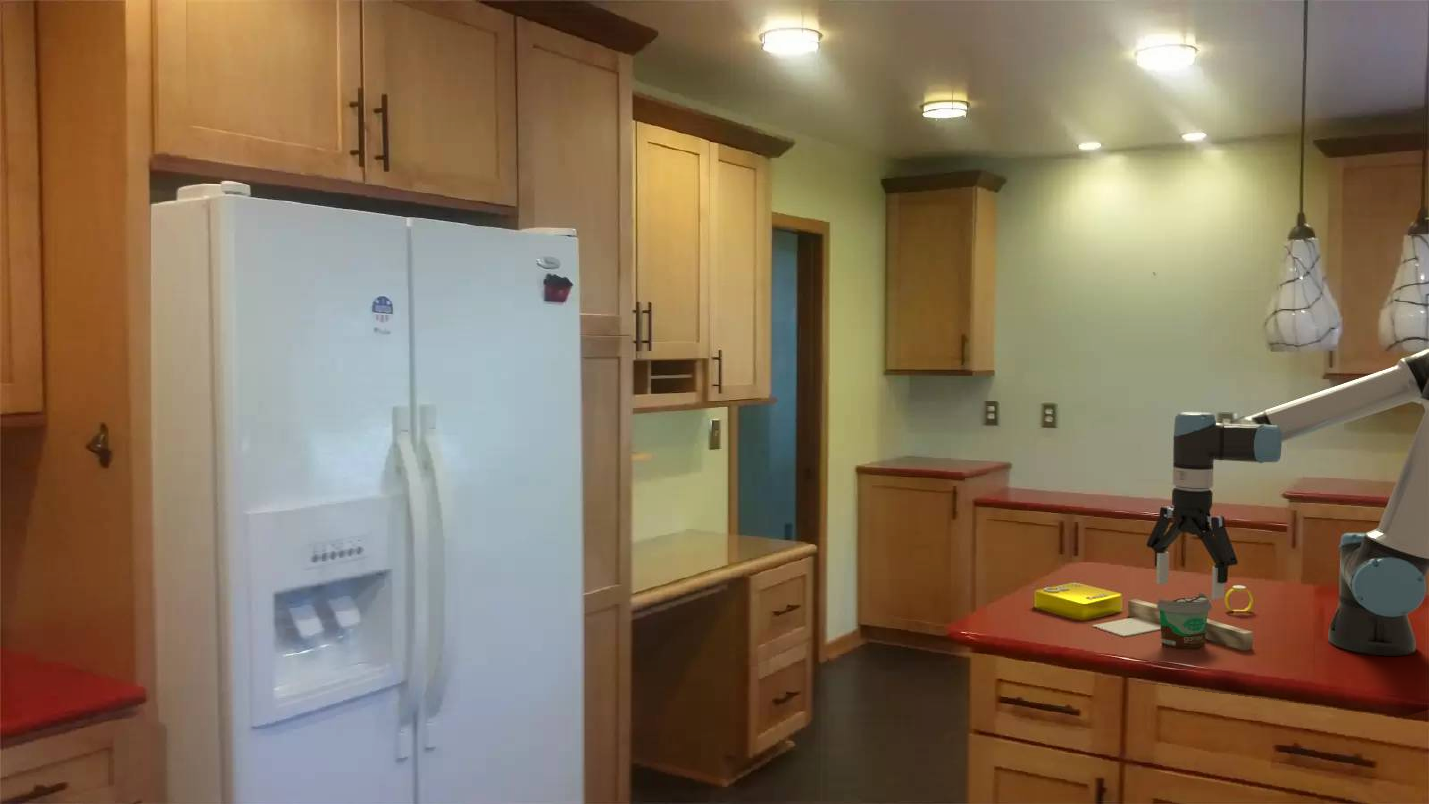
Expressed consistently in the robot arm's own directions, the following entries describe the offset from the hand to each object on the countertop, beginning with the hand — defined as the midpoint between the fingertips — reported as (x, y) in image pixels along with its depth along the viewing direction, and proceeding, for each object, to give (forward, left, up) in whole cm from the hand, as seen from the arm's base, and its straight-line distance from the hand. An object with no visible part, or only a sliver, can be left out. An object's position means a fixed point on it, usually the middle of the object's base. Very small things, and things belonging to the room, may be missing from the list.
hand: (1189, 590), depth 218 cm
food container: (0, 0, -12) cm, 12 cm away
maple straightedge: (+8, -9, -12) cm, 16 cm away
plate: (+16, 0, -12) cm, 20 cm away
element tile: (+33, -2, -12) cm, 35 cm away
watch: (+13, -31, -12) cm, 36 cm away
